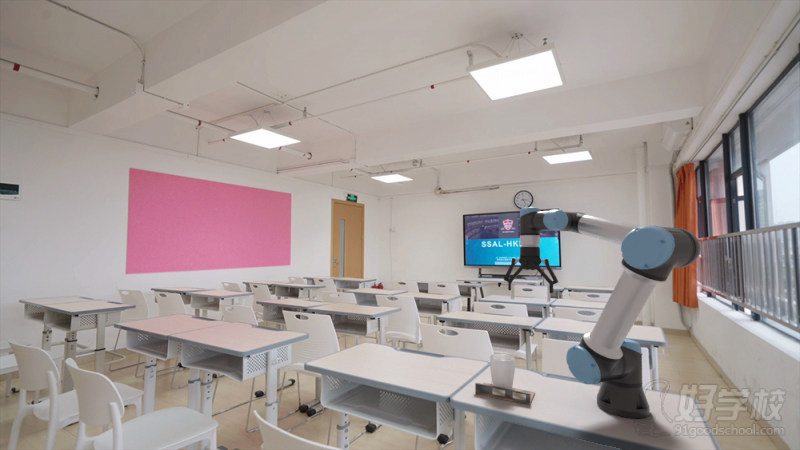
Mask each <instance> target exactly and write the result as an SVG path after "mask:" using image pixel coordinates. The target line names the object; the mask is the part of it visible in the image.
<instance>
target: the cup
mask: <svg viewBox="0 0 800 450" xmlns="http://www.w3.org/2000/svg"><path fill="white" fill-rule="evenodd" d="M489 357H490V358H489V359H490V361H489V367H490V375H491V382H492V383H491V384H493V386H496V387H501V388H507V389H512V388H514V386H513V385H514V378H515V370H516V362H515V361H516V360H515V357H514V356H512V355H510V354H505V353H504V354H503V353H494V354H491V355H490V356H489Z"/></svg>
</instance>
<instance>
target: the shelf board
mask: <svg viewBox="0 0 800 450" xmlns="http://www.w3.org/2000/svg"><path fill="white" fill-rule="evenodd" d="M474 388H475V389H474V390H475V392H474V393H475V395H479V396H485V397H490V398H495V399H498V400H504V401H510V402H513V403H518V404H519V403H520V404H523V405H528V406H531V404H532V402H533V399H534V397H535V395H536V391H532V390H526V389H520V388H516V387H515V388H514V387H512V389H507V388H501V387H496V386H493V384H492V383H488V382H482V383H480V382H475V385H474ZM534 394H535V395H534ZM531 401H532V402H531Z"/></svg>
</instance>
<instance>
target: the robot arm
mask: <svg viewBox="0 0 800 450" xmlns="http://www.w3.org/2000/svg"><path fill="white" fill-rule="evenodd" d="M541 231H542V232H544V231H546V232H548V231H549V232H550V231H552V232H555V231H556V232H573V233H575V234H576V233H577V234H579V235H580V234H581V235H585V236H587V237H590V238H591V237H592V238H596V239H599V240H602V241H607V242H610V243H614V244H618V245H620V251H621V252H622V253H621V256H622V260H621V261H620V262H621V263H620V264H621V266H622V269H623V270H622V273H621V275H620V276H619V279H618V280H617V282H616V284H615V286H614V288H613V290H612V292H611V294H610V296H609V297H608V300H607V302H606V304H605V306H603V309H602V312H601V313H600V315H599V317H598V319H597V321H596V323H595V324H594V327H593V328H592V330H591V331H589V332H586V333H584V334H583V335H582V338H581V339H580V342H579V344H578V345H576V344H575V345H573V346H571V347H569V348H568V350H567V352H566V355H565V359H566V364H567V366H568V370H569V372H570V374H572V376H573V377H574V379H576V380H577V381H579V382H580V383H582V384H585V385H597V384H599V383H600V386H599V389H598V392H597V395H596V404H597V406H598V407H599V408H600V409H602V411H604V412H607V413H609V414H613V415H616V416H620V417H623V418H628V419H629V418H630V419H645V418H648V417H649V416H650V409H651V408H650V405H649V401H648V399H647V397H646V393H645V390H644V387H643V352H642V346H641V344H640V342H638V341H637V340H636V341H635V340H633V339H629V338H627V336H628V335H629V333H630V331H631V330H632V327H633V326H634V324H635V323H636V321H637V319H638V317H639V316H640V314H641V312H642V310H643V309H644V307H645V305H646V303H647V301H648V299H649V298H650V296H651V295H652V292H653V291H654V289H655V287H656V286H657V285H658V284H661V283H664V282H667V280H668V278H669V276H670V274H671V273H672V271H673V270H674V269H681V268H685V267H688V266H690V265H693V263H694V262H695V261H697V259H698V258H699V255H700V254H701V242H700V241H699V239H698V238H697V236H696V235H695V234H694V233H693V232H691V231H689V230H688V229H685V228H681V227H670V226H658V225H646V226H643V225H639V224H634V223H630V222H624V221H619V220H613V219H609V218H605V217H600V216H595V215H591V214H586V213H583V212H580V211H575V212H572V211H564V210H562V209H550V210H543V211H541V210H540V208H539V207H536V206H534V207H533V206H529V207H522V208H521V209H520V211H519V245H520V247H519V258H515V257H513V258H511V264H510V265H509V268H508V269H507V272H506V273H505V276H504V277H503V281H505V282H507V283H508V284H507V285H508V287H507V289H508V291H510V299H511V300H515V282H513V281H514V280H515V279H516V278H517V277H518V275H520V273H521V272H522V271H523V270H525V271H528V270H531V271H535V270H536V271H537V272H539V274H541V277H543V278H544V279H545V281H546V282H547V283H548V284H547V285H546V286H547V289H546V291H547V293H546V295H547V303H550V302H551V294H553V293H554V285H555V284H558V283H559V280H558V278H557V276H556V274H555V273H554V270H553V269H552V266H551V265H550V259H549V258H545V259H541V247H540V245H541ZM518 263H519V264H520V266H519V267H518V269H517V270H516V271H515V272H514V273H513V274H512V272H513V271H514V268H515V266H516V264H518ZM542 263H543V265H544V266H545V267H546V269H547V271H548V273H549V275H550V276H549V275H548V274H547V273H546V272H545V271H544V270H543V268H542V267H541V266H540V265H541V264H542ZM511 274H512V276H511ZM510 276H511V277H510ZM550 277H551V278H550Z"/></svg>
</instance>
